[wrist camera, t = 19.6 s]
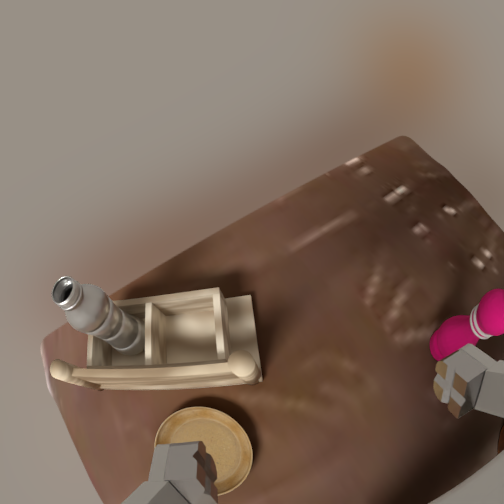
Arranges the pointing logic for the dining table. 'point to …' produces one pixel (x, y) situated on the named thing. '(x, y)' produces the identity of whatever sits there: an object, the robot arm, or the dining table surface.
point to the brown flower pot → (501, 441)
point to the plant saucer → (212, 442)
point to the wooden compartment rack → (176, 346)
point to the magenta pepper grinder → (470, 326)
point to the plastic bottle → (99, 315)
